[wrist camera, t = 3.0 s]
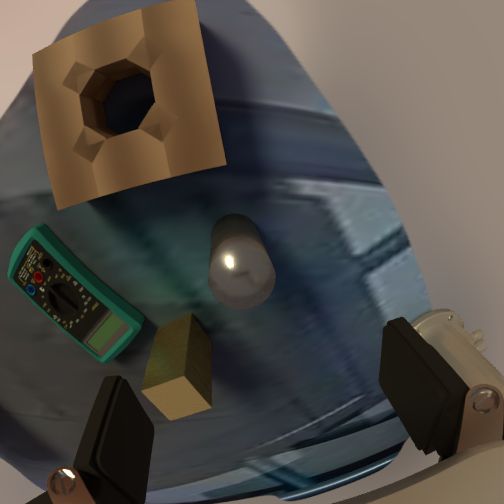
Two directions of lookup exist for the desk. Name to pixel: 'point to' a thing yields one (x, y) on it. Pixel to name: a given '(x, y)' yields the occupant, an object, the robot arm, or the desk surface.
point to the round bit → (239, 264)
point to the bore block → (99, 86)
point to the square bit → (180, 369)
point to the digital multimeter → (72, 295)
